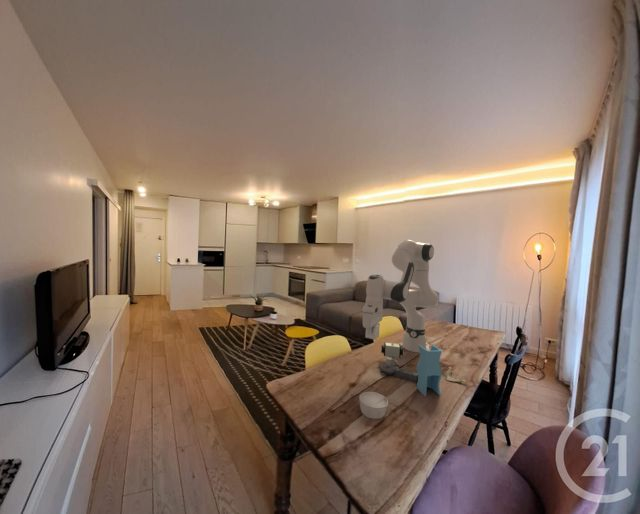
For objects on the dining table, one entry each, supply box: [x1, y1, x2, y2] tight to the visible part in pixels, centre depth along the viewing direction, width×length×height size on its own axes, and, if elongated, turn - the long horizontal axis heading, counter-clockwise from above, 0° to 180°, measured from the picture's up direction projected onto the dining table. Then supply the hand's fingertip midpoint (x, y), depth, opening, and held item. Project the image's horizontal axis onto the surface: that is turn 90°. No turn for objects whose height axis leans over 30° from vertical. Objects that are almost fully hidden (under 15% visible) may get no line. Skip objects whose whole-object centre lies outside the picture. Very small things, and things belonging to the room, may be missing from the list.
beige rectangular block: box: [364, 322, 381, 340], centre depth 139 cm, size 5×5×7 cm
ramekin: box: [358, 391, 389, 420], centre depth 105 cm, size 11×11×5 cm
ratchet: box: [380, 356, 418, 383], centre depth 136 cm, size 8×24×8 cm, turn 59°
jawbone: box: [444, 366, 468, 385], centre depth 141 cm, size 9×20×2 cm, turn 176°
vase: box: [416, 344, 443, 397], centre depth 123 cm, size 8×8×20 cm
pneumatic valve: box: [380, 342, 404, 365], centre depth 151 cm, size 6×12×12 cm, turn 78°
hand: (372, 332), depth 139 cm, fingers closed on beige rectangular block, 5 cm apart
